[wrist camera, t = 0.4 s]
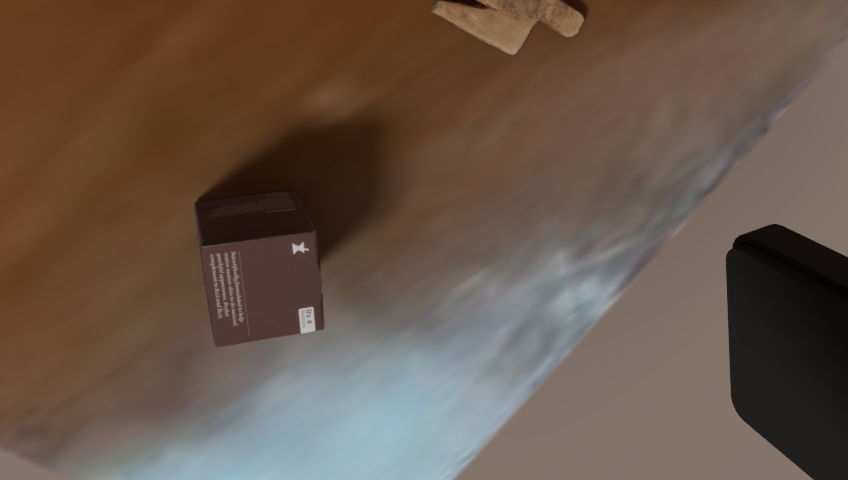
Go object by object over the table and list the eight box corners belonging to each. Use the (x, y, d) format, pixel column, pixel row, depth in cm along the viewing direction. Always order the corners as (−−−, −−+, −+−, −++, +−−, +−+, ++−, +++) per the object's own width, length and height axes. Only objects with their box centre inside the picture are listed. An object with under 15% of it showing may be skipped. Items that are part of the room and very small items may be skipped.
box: (192, 198, 45) (199, 244, 39) (296, 187, 47) (319, 229, 40) (205, 292, 47) (213, 350, 41) (303, 279, 49) (326, 332, 43)
